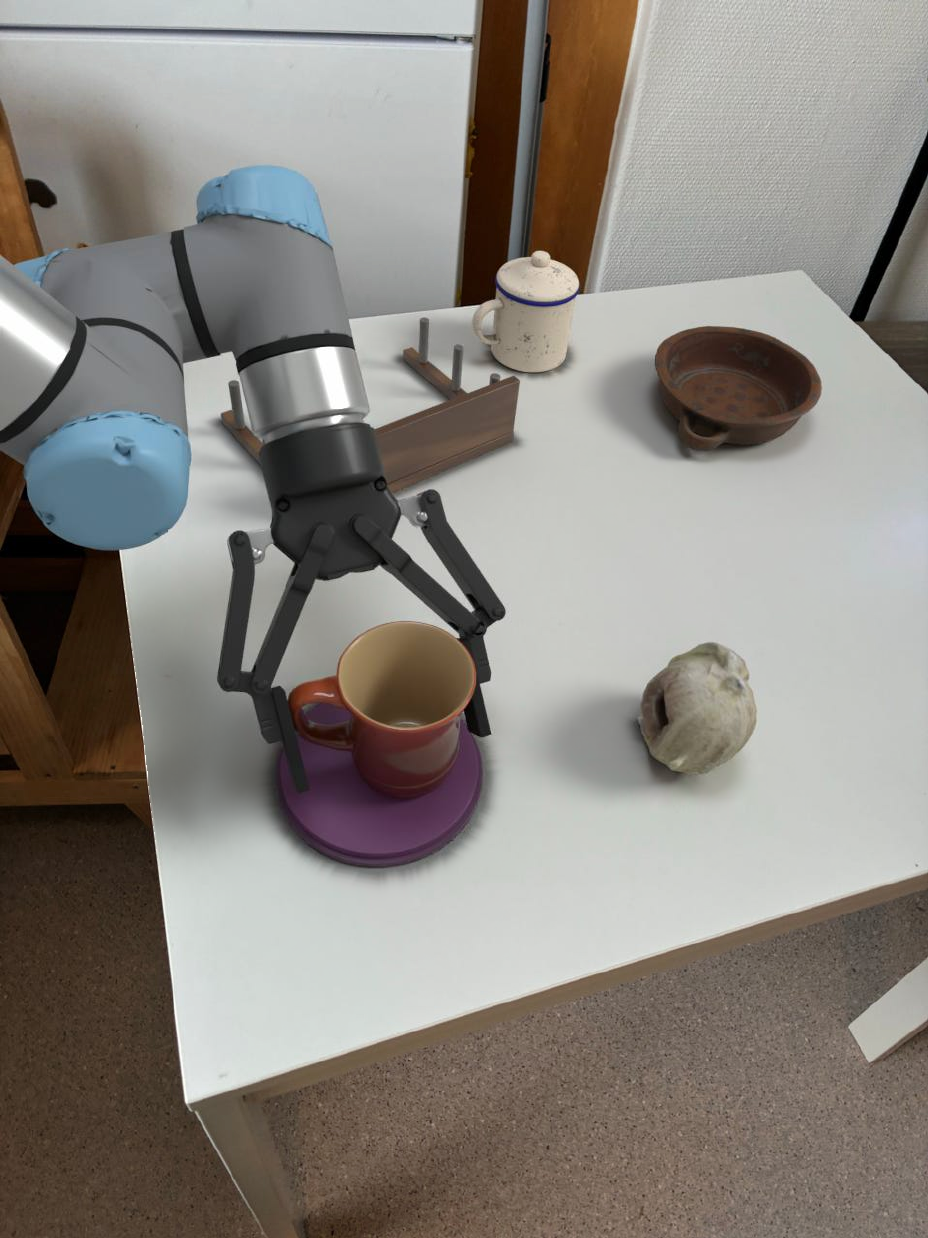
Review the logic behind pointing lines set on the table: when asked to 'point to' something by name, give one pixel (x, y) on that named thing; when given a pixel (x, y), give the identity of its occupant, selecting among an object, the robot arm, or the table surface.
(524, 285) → the teacup with lid
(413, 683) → the mug
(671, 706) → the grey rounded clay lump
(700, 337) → the dish
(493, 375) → the dish rack
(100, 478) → the robot arm
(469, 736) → the plum lid
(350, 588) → the table surface
